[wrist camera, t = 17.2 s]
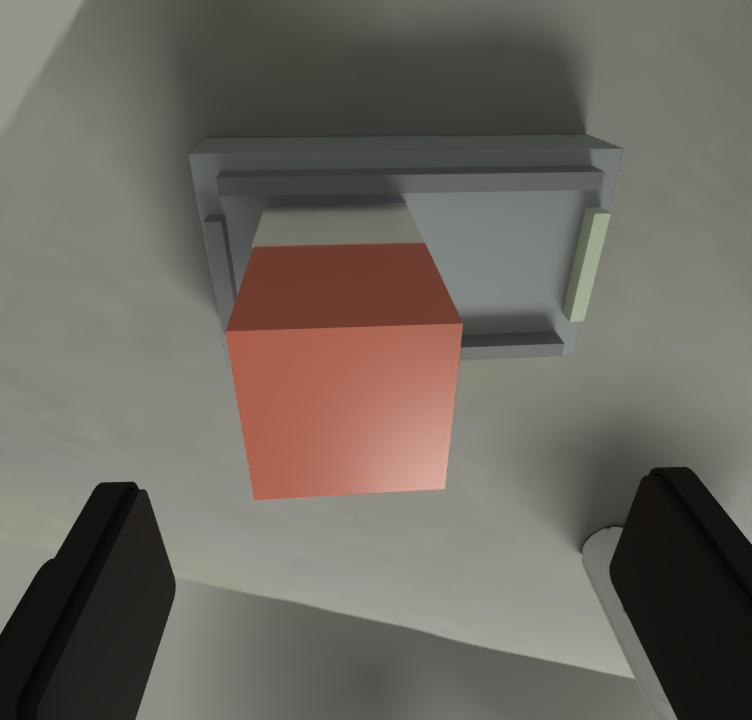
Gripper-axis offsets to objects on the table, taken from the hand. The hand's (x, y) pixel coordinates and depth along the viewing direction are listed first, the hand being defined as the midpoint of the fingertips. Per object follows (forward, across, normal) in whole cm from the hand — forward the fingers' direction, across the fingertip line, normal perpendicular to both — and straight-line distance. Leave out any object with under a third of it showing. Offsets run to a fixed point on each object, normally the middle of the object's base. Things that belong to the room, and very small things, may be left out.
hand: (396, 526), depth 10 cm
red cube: (+8, +1, 0) cm, 8 cm away
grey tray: (+15, -1, -1) cm, 15 cm away
